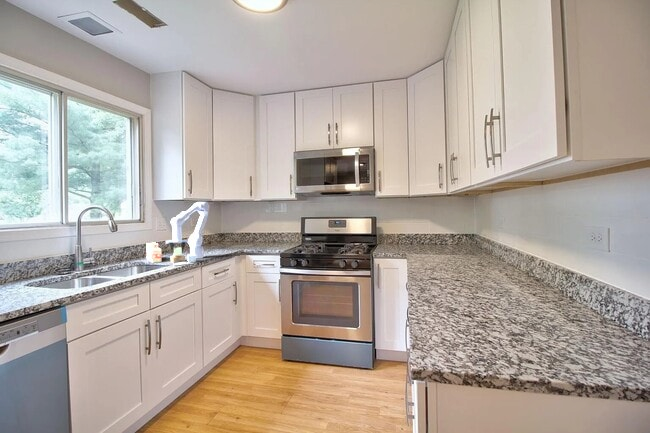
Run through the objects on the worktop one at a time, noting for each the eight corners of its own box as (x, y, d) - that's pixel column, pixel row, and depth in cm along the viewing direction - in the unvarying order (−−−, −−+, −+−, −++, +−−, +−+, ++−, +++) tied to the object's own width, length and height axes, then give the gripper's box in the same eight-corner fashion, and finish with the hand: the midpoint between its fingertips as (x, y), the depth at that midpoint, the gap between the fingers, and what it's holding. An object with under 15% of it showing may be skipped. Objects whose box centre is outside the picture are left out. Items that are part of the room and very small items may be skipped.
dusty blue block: (194, 261, 214) (194, 254, 214) (196, 262, 210) (195, 255, 210) (187, 261, 212) (187, 254, 211) (188, 263, 207) (188, 255, 207)
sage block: (181, 254, 217) (181, 247, 217) (181, 255, 213) (181, 248, 213) (173, 254, 215) (173, 247, 215) (174, 255, 211) (174, 248, 210)
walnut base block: (182, 260, 220) (182, 254, 220) (185, 261, 214) (185, 256, 214) (170, 261, 215) (170, 256, 214) (173, 263, 208) (173, 257, 208)
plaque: (187, 262, 207) (187, 261, 207) (189, 264, 200) (189, 263, 200) (173, 264, 203) (173, 263, 203) (174, 266, 195) (174, 265, 195)
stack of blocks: (161, 262, 212) (161, 244, 212) (151, 263, 208) (151, 245, 208) (155, 258, 229) (155, 242, 228) (146, 259, 225) (146, 243, 224)
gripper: (166, 235, 206) (166, 254, 207) (188, 234, 214) (189, 252, 214) (165, 234, 212) (166, 253, 213) (187, 233, 220) (188, 251, 220)
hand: (177, 252), depth 214 cm, fingers closed on sage block, 5 cm apart
